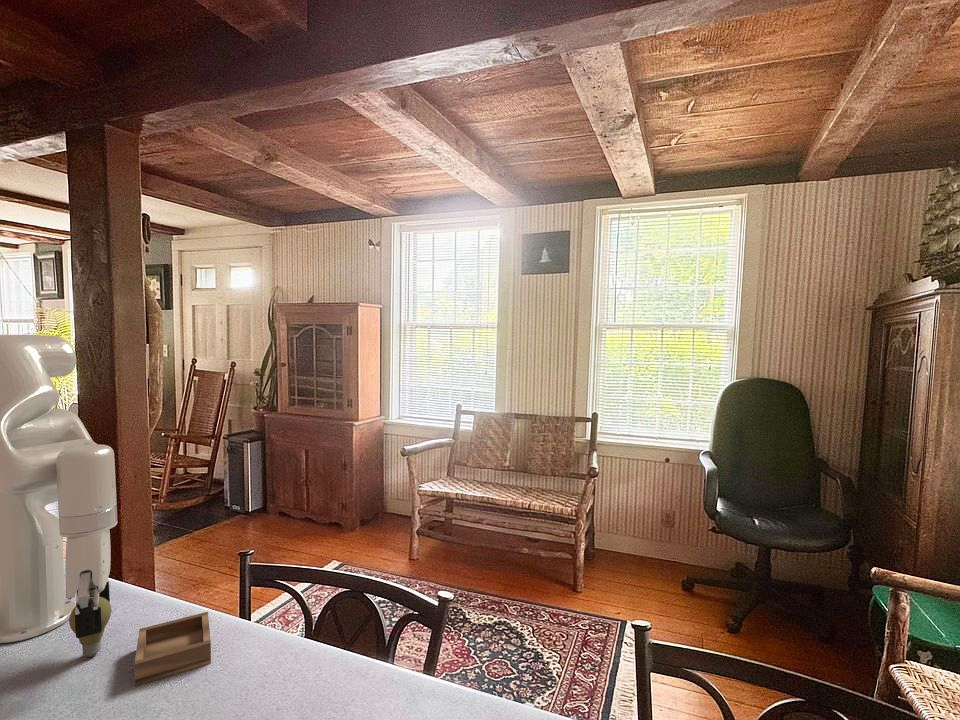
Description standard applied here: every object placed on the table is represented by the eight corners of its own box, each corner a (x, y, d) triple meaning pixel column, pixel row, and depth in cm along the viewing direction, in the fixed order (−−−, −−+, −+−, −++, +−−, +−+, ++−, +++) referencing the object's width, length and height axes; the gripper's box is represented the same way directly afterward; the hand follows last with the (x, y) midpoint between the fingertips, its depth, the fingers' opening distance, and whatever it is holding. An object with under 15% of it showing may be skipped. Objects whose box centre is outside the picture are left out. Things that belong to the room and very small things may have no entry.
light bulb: (88, 669, 78) (87, 610, 78) (61, 664, 79) (59, 605, 79) (120, 647, 84) (119, 592, 83) (94, 642, 85) (93, 588, 84)
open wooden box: (139, 648, 84) (139, 628, 83) (208, 629, 89) (207, 611, 89) (134, 686, 75) (134, 664, 75) (210, 663, 80) (210, 642, 80)
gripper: (70, 509, 85) (75, 603, 86) (46, 543, 71) (52, 656, 71) (122, 501, 89) (126, 591, 90) (110, 532, 75) (115, 638, 75)
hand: (94, 619), depth 81 cm, fingers open, 9 cm apart
